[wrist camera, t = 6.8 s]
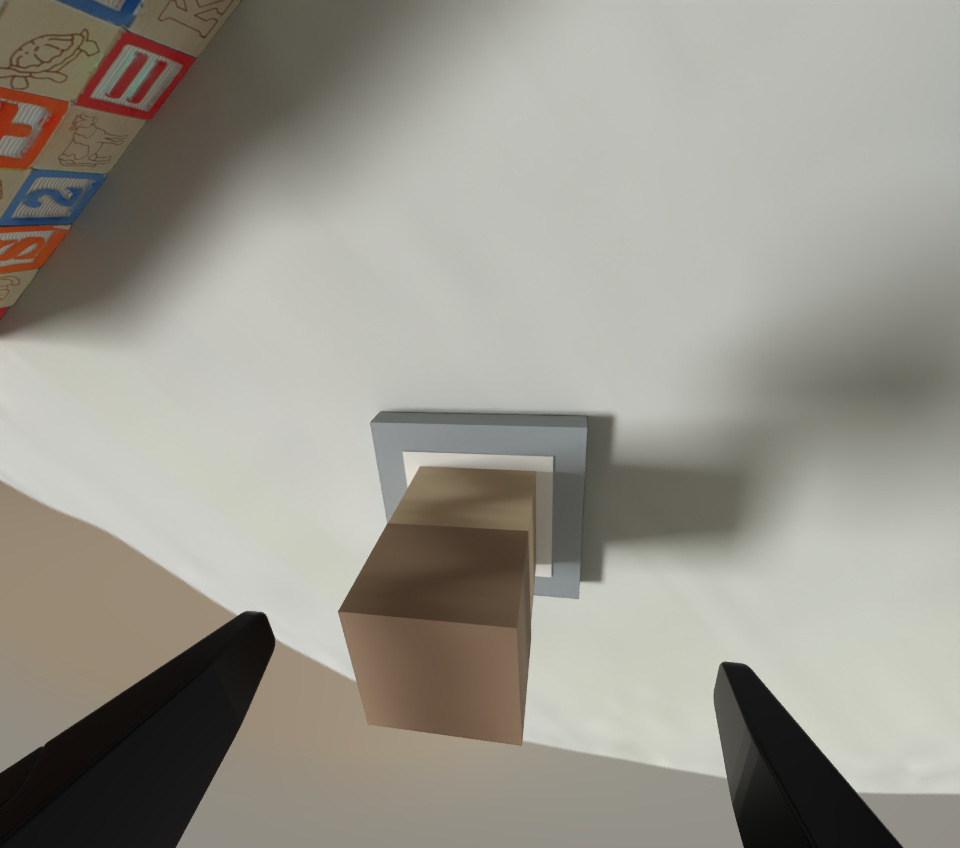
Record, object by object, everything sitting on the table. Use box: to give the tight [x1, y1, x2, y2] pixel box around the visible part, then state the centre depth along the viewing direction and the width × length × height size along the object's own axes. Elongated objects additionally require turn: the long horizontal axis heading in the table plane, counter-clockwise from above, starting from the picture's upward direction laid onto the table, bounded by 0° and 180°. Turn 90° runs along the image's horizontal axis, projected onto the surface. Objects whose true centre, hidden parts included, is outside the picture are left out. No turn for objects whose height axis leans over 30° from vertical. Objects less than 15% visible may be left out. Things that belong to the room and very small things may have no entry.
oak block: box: [388, 466, 536, 617], centre depth 19 cm, size 5×5×4 cm
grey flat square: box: [370, 412, 587, 599], centre depth 21 cm, size 9×9×1 cm
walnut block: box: [338, 523, 531, 746], centre depth 15 cm, size 5×5×4 cm
